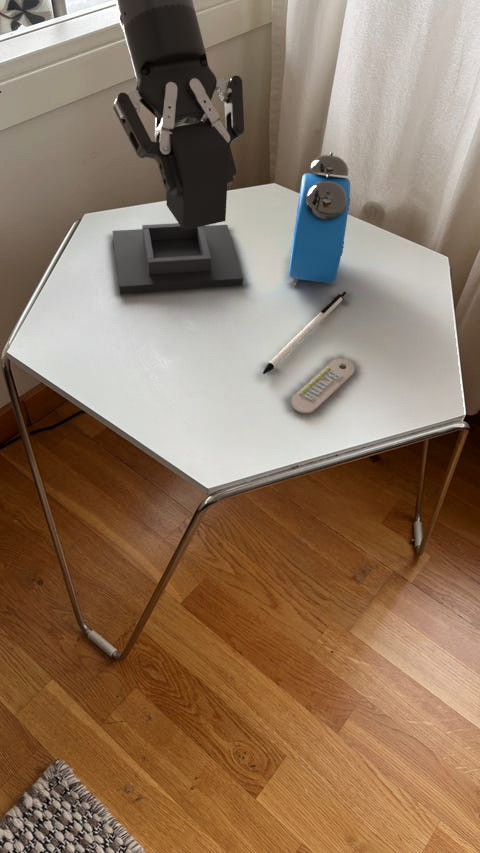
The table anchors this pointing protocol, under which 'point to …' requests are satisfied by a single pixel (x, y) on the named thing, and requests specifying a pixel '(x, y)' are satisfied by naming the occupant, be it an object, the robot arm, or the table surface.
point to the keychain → (322, 386)
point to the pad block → (199, 175)
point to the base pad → (175, 258)
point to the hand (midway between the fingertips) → (203, 188)
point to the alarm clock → (320, 221)
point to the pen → (304, 333)
